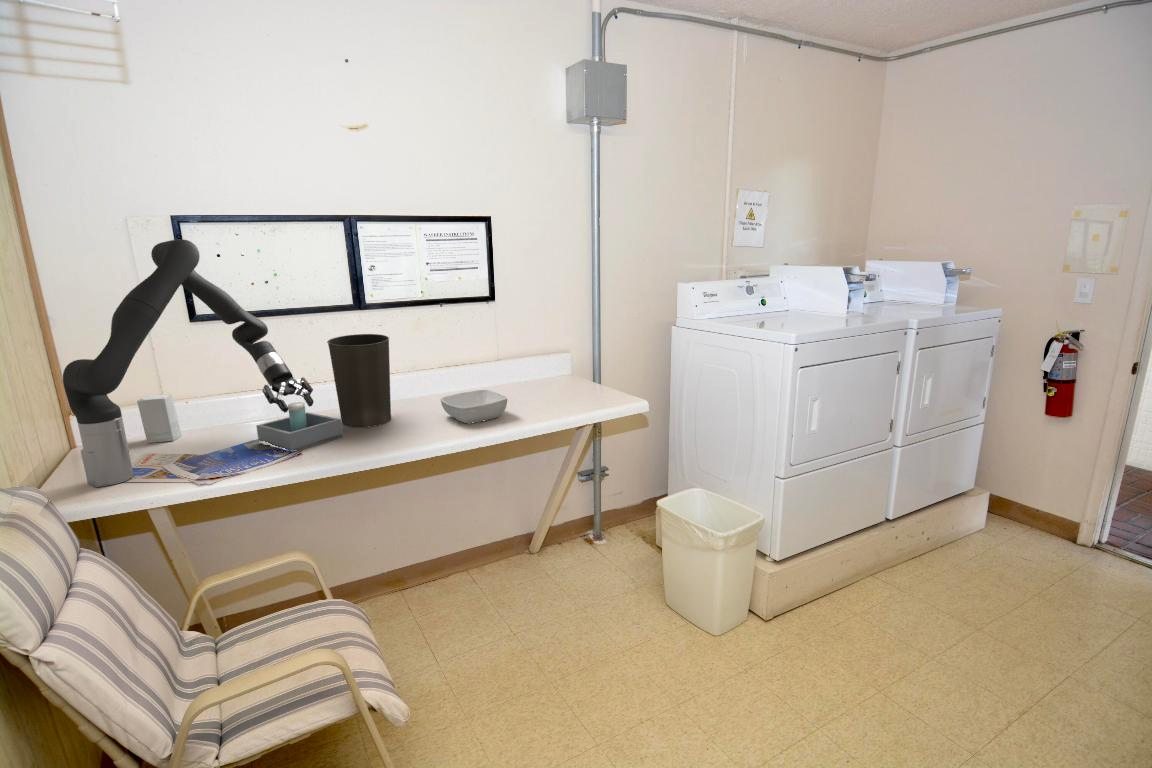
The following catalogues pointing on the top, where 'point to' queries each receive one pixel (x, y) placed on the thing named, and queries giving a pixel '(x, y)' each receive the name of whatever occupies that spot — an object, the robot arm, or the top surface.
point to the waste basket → (362, 378)
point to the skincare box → (159, 418)
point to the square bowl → (474, 405)
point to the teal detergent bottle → (297, 416)
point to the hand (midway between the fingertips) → (299, 407)
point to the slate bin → (300, 432)
